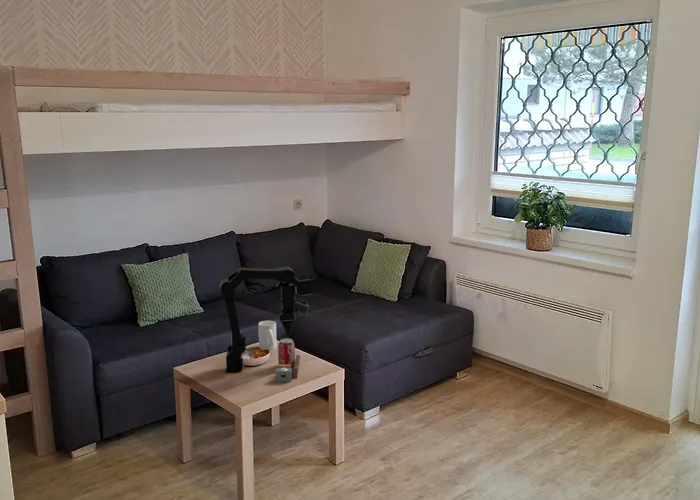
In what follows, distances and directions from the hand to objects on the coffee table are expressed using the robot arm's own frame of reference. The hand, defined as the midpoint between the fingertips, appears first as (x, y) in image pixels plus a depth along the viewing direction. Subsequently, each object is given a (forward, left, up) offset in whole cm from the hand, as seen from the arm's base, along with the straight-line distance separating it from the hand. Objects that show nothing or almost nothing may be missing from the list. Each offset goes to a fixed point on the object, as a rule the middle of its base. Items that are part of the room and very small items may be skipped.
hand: (290, 333), depth 277 cm
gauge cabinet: (-2, -14, -15) cm, 21 cm away
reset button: (-2, -10, -14) cm, 18 cm away
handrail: (+3, -4, -15) cm, 16 cm away
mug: (-12, +21, -16) cm, 29 cm away
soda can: (-2, 0, -16) cm, 16 cm away
